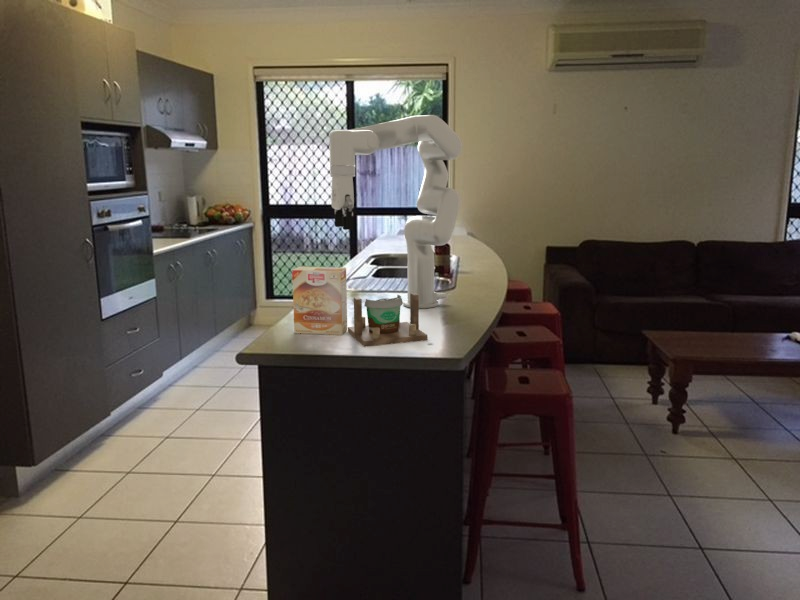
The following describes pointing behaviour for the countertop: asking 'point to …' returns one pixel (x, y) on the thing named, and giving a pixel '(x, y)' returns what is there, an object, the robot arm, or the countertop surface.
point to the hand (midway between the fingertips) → (343, 228)
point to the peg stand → (404, 333)
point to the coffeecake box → (320, 300)
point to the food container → (384, 314)
